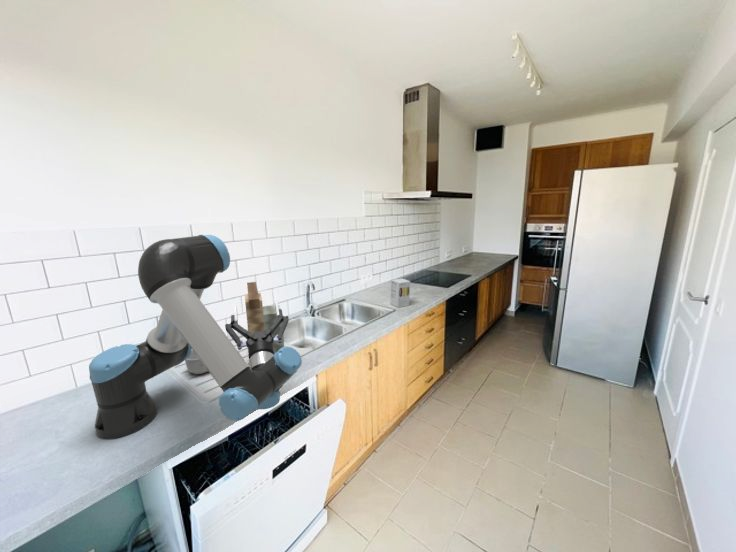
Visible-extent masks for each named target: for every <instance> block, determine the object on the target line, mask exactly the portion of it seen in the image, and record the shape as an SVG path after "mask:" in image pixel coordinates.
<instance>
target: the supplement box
mask: <svg viewBox="0 0 736 552" xmlns="http://www.w3.org/2000/svg"><path fill="white" fill-rule="evenodd" d="M410 292H411V281H410V280H407V279H406V278H395V279H391V281H390V300H389V301H390V304H391V305H392V306H395V307H396V308H403V307H408V306H410V295H411V293H410Z"/></svg>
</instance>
